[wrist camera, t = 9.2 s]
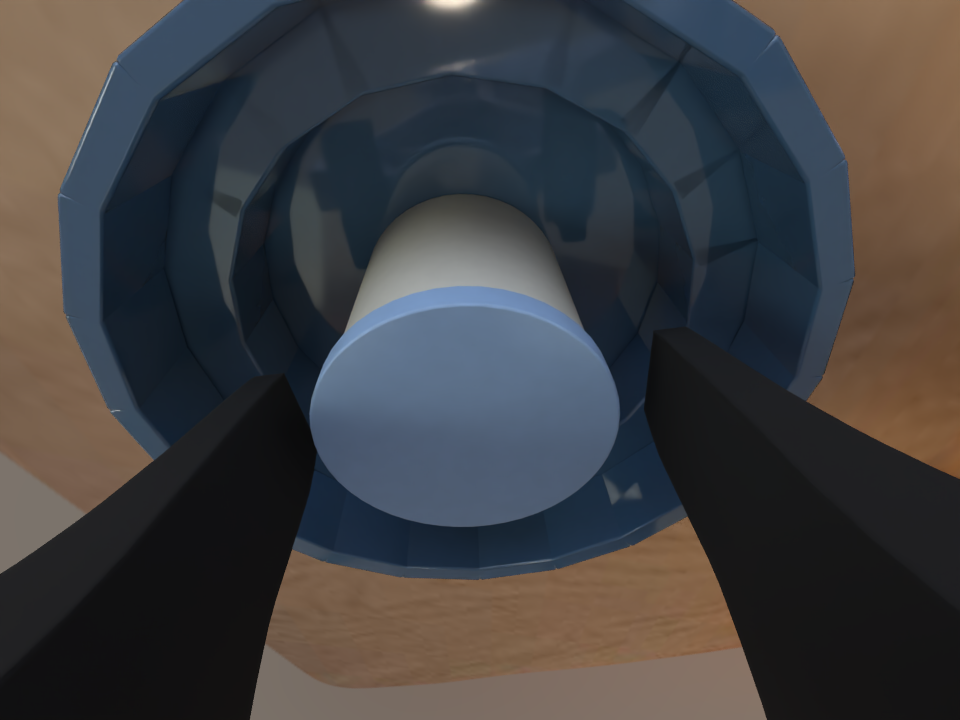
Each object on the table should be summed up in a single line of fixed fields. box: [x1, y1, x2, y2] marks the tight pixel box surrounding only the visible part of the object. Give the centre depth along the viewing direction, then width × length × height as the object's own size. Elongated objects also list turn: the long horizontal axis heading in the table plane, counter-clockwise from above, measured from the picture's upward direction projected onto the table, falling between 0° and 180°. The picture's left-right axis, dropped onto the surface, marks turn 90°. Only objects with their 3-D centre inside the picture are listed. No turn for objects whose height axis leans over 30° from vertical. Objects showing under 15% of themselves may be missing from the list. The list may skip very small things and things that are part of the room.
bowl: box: [58, 0, 855, 580], centre depth 11 cm, size 14×14×5 cm
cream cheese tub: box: [309, 194, 620, 527], centre depth 11 cm, size 6×6×6 cm
